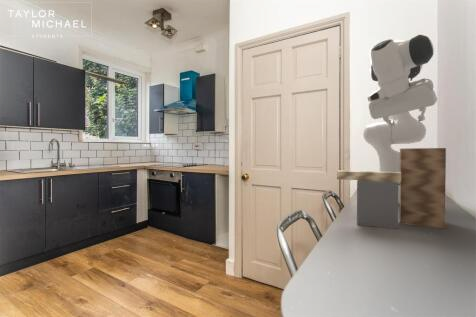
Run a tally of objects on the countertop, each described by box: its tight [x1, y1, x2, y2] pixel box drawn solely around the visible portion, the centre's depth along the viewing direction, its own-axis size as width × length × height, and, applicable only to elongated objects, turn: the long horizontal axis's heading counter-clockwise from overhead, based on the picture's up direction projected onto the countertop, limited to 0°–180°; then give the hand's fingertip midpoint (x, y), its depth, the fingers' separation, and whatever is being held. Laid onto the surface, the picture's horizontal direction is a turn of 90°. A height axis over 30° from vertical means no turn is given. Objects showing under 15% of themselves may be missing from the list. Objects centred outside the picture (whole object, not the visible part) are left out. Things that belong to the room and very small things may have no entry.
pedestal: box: [398, 147, 447, 229], centre depth 88 cm, size 12×10×26 cm
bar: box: [336, 170, 401, 182], centre depth 89 cm, size 20×3×3 cm, turn 59°
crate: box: [356, 180, 399, 230], centre depth 88 cm, size 12×10×15 cm
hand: (406, 123), depth 90 cm, fingers open, 8 cm apart
